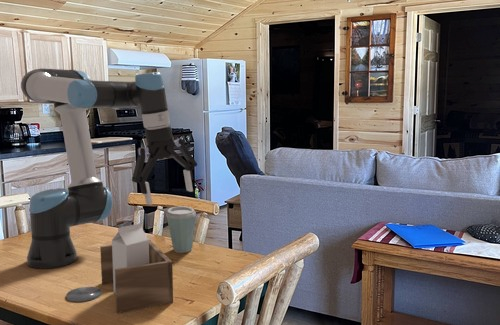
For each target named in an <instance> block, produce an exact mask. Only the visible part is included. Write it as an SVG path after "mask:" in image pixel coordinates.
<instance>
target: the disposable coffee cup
mask: <svg viewBox="0 0 500 325" xmlns="http://www.w3.org/2000/svg"><path fill="white" fill-rule="evenodd" d="M165 217H166V219H167V224H168V229H169V230H168V231H169V233H170V234H169V236H170V239H171V244H172V249H173V252H175V253H178V254H181V253H182V254H183V253H189V252H190V251H192V248H193V246H194V245H193V243H194V235H195V226H196V217H197V212H196V211H195V209H194V207H190V206H185V205H181V206H172V207H169V209H167V210H166V212H165Z"/></svg>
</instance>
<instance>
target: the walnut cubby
mask: <svg viewBox="0 0 500 325" xmlns="http://www.w3.org/2000/svg"><path fill="white" fill-rule="evenodd" d="M100 272H101V273H100V274H101V284H102V285H107V284H113V257H112V244H109V245H108V244H107V245H100ZM173 273H174V272H173V261H172V260H171V259H170V258H169V257H168V256H167V255H166V254H165V253H164V252H163V251H162V250H161V249H160V248H159V247H158V246H157V245H156V244H155V243H153V241H151V239H149V264H145V265H138V266H132V267H125V268H119V269H115V290H116V293H115V306H116V307H115V309H116V310H115V311H116V313H117V314H119V313H120V314H121V313H126V312H131V311H136V310H140V309H142V310H143V309H146V308H152V307H156V306H160V305H166V304H173V303H174V289H173V288H174V285H173V284H174V283H173V282H174V279H173V278H174V277H173V276H174V275H173Z"/></svg>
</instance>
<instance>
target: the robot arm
mask: <svg viewBox="0 0 500 325" xmlns="http://www.w3.org/2000/svg"><path fill="white" fill-rule="evenodd" d="M162 76H163V75H162V73H161V72H159V71H153V72H152V71H151V72H144V73H138V74H136V75H135V76H134V78H135V79H134V80H135V81H119V80H117V81H114V80H113V81H111V80H92V79H91V77H90V76H89V74H87V73H86V72H84V71H82V70H75V69H58V68H36V69H32V70H30V71H28V72H26V73H25V74H24V75H23V77H22V79H21V81H20V89H21V93H22V94H23V95H24V97H26V98H27V99H28V100H29V101H33V102H35V103H41V104H53V107H54V108H53V109H54V111H55V112H57V113H58V114H59V115H60V121H61V128H62V133H63V138H64V139H63V140H64V145H65V151H66V157H67V162H68V169H69V175H70V181H71V182H70V184H69V185H68V186H67V188H60V187H59V188H52V189H46V190H43V191H42V190H41V191H39V192H36V193H35V194H33V195H32V196H31V197H30V200H29V209H28V210H29V215H30V218H29V219H30V231H31V232H30V233H31V243H30V245H29V246H30V247H29V250H28V253H27V256H26V263H27V266H28V267H30V268H34V269H54V268H60V267H64V266H68V265H70V264H72V263H74V262H76V260H77V259H78V258H77V257H78V255H77V249H76V248H75V245H74V243H73V240H72V237H71V231H70V230H71V229H70V228H71V227H76V226H80V225H81V226H82V225H86V224H91V223H97V222H100V221H103V220H106V219H107V218H108V217H109V216H110V214H111V213H112V209H113V206H114V205H113V202H114V201H113V194H112V192H111V190H110V188H109V187H106V186H104V183H103V181H102V180H101V179H100V178H98V175H97V169H96V163H95V158H94V150H93V145H92V140H91V134H90V127H89V123H88V116H87V110H88V109H90V108H92V109H95V108H96V109H99V108H110V109H112V108H115V109H116V108H117V109H118V108H120V109H121V108H122V109H131V108H140V114H141V118H142V124H143V128H144V129H145V130H144V133H145V134H144V135H145V139H146V140H145V141H146V144H147V146H146V147H138V148H137V150H136V151H137V158H136V162H135V166H134V170H133V172H132V173H133V174H132V177H131V181H132V182H133V183H136V184H139V189H140V193H141V194H142V195H144V198H145V204H146V205H153V199H152V194H151V188H150V183H149V182H148V181H147V180H148V178H149V176H150V174H151V172H152V169H153V168H154V166H155V164H156V163H157V161H158V160H164V159H168V158H170V157H171V158H173V159H174V160H175V161H176V162H177V163H178V164H179V165H181V166H182V167H183V170H182V171H183V176H184V177H183V178H184V183H185V189H186V191H187V192H190V193H191V192H194V188H193V182H192V180H194V174H193V170H194V169H195V167H197V166H198V163H197V161H196V160H195V158H194V157H193V155H192V154H191V153H190V151H189V150H188V147H186V145H185V142H184V139H183V138H176V139H175V140H174V139H173V130H172V127H171V125H170V123H171V120H170V115H169V109H168V102H167V95H166V89H165V86H166V85H165V83H164V79H163V77H162ZM175 147H176V148H178V150H179V151H180V153H181V154H182V155H183V157H184V158H183V157H182V156H180V155H179V154H178V153H177V151H175V150H174V149H175ZM147 153H148V154H149V155H148V158H147V162H146V164H144V163H145V159H146V156H147ZM185 159H186V160H185ZM144 165H145V166H144Z"/></svg>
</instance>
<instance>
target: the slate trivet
mask: <svg viewBox="0 0 500 325" xmlns="http://www.w3.org/2000/svg"><path fill="white" fill-rule="evenodd" d="M101 295H102V289H101V288H99V287H96V286H82V287H81V286H80V287H77V288H73V289H70V291H68V292H67V293H66V295H65V296H66V298H65V299H66V300H67V301H69V302H73V303H83V302H89V301H93V300H96V299H98V298H100V297H101Z"/></svg>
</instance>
